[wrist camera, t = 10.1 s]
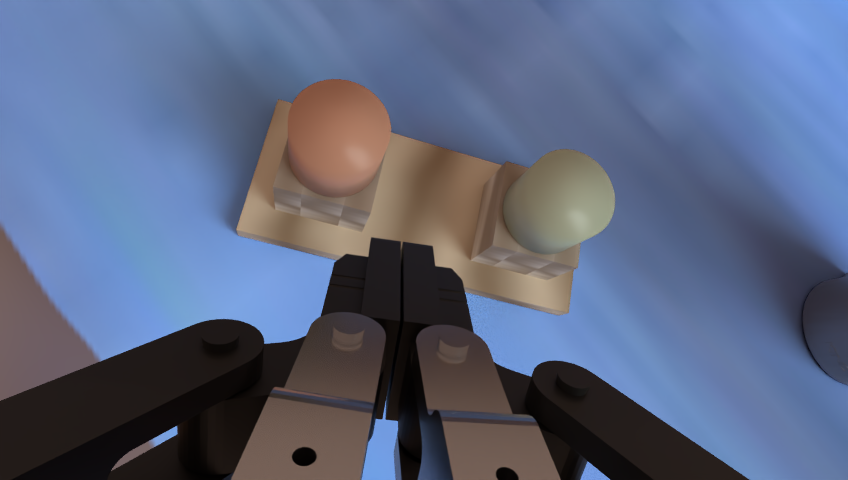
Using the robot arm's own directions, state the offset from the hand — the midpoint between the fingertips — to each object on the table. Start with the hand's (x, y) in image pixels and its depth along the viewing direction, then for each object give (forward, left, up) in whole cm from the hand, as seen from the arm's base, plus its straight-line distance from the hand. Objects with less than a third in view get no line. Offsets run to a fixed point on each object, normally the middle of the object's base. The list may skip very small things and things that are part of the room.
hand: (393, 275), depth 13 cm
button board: (-11, -3, -25) cm, 27 cm away
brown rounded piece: (-7, -9, -21) cm, 24 cm away
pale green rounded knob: (-15, +3, -21) cm, 26 cm away
